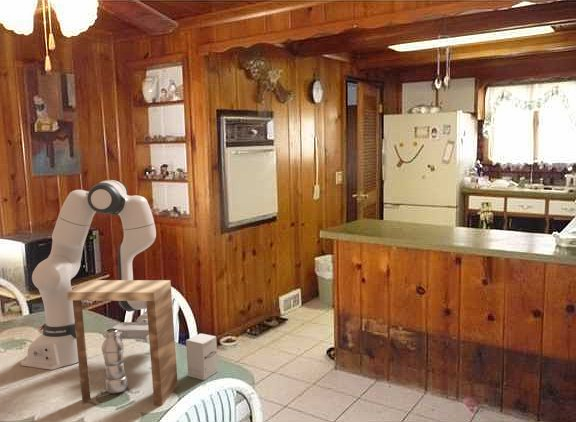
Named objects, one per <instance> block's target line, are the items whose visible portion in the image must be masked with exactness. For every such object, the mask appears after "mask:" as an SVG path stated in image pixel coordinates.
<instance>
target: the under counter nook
mask: <svg viewBox="0 0 576 422" xmlns="http://www.w3.org/2000/svg"><path fill="white" fill-rule="evenodd" d="M67 297H68V300H73V310H74V320H75V331H76V341H77V351H78V362H77V363H78V369H79V381H80V392H81V393H80V394H81V401H82V402H83V403H85V402H89V401H90V400H91V399H92V398H91V397H92V396H91V390H90V389H91V388H90V378H89V376H90V375H89V368H88V359H87V358H88V354H87V355H86V352H87V348H86V347H87V345H86V336H85V326H84V325H85V324H84V314H83V305H82V301H100V302H101V301H102V302H103V301H106V302H107V301H109V302H110V301H113V302H114V301H115V302H116V301H117V302H119V301H146V303H147V309H146V310H147V316H148V329H149V342H148V343H149V353H150V365H151V367H150V368H151V379H152V390H153V391H152V392H153V405H154V406H163V405H164V404H165V402H166V401H167V400H168V398H170V396H171V394H172V393H173V392H174V391H175V389H176V388H177V386H178V385H179V383H178V381H179V380H178V371H177V370H178V368H177V355H176V340H175V326H174V314H173V309H172V305H173V298H172V297H173V296H172V284H171V279H166V280H165V279H161V280H160V279H157V280H156V279H155V280H154V279H153V280H152V279H151V280H150V279H145V280H143V279H142V280H141V279H140V280H139V279H137V280H135V279H133V280H119V279H116V280H115V279H105V280H103V279H97V280H96V279H93V280H91V279H90V280H88V281H86V282H84V283H82V284H80V285H78V286H76V287H74V288H72V290H70V291H68V292H67Z"/></svg>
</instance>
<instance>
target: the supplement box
mask: <svg viewBox="0 0 576 422" xmlns="http://www.w3.org/2000/svg"><path fill="white" fill-rule="evenodd" d="M185 346H186V347H185V348H186V365H187V376H188V377H191V378H195V379H199V380H202V381H205V380H206V379H208V378H209V377H212V376H213V375H214V374H216V373H218V372H219V365H218V348H217V346H218V345H217V336H216V335H212V334H206V333H198V334H197V335H194V336H192V337H190V338H188V339H186V340H185Z"/></svg>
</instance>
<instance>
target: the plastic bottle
mask: <svg viewBox="0 0 576 422" xmlns="http://www.w3.org/2000/svg"><path fill="white" fill-rule="evenodd" d="M117 336H118V330H117V329H116V328H112V327H111V328H107V329H105V331H104V337H105V339H104V341H103V343H102V345H101V352H102V355H103V359H104V364H105V366H104V367H105V382H104V383H105V385H104V386H105V389H106V391H107V392H108V393H109V394H119V393H123V392H124V391H126V389H127V388H128V379H127V375H126V371H125V365H124V343H123V340H122V341H121V340H120V339H119V338H118V337H117Z"/></svg>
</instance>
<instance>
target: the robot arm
mask: <svg viewBox="0 0 576 422" xmlns="http://www.w3.org/2000/svg"><path fill="white" fill-rule="evenodd" d="M96 213H98V214H104V215H113V216H116V215H117V216H118V217H120V221H121V224H122V229H123V239H122V241H121V243H119V245H118V250H117V267H118V269H117V270H118V280H134V273H133V261H134V258H135V257H136V256H137V255H138V254H140V253H142V252H144V251H145V250H147V249H148V248H149V247H151V246H152V245H153V244H154V243H155V240H156V238H157V229H156V224H155V219H154V215H153V212H152V209H151V207H150V204H149V202H148V199H146V198H145V197H144V196H141V195H135V194H134V195H129V190H128V188H127V186H126V185H125V183H124V182H122V181H120V180H118V179H113V178H111V179H106V180H102V181H100V182H98V183H96V184H94V185H93V186H92V187H91V188H90V189H89V191H88V190H84V189H75V190H72V191H70V192H69V193H68V195H67V197H66V199H65V200H64V201H63V204H62V206H61V208H60V211H59V213H58V216H57V218H56V222H55V225H54V229H53V231H52V234H51V239H52V243H51V250H50V254H49V255H48V257H47V258H45V259H44V260H42V261H40V262H39V263H38V264H37V265H36V267H35V268H34V270H33V271H32V275H31V281H32V283H33V285H34V286H35V288H37V289H38V291H39V293H40V296H41V299H42V300H41V301H42V302H43V307H44V308H43V309H44V316H45V323H44V324H43V325H41V326H40V327H39V331H42V333H41V334H40V335H39V336H38V337H36V339H34V341H32V342H31V343H30V344H29V346H28V347H27V355H26V356H25V357H24V358H22V360H21V361H20V365H21V366H23V367H28V368H37V369H44V370H56V369H60V368H61V367H62V368H63V367H66V366H71V365H73V364H76V363H79V362H78V351H77V341H76V331H75V320H74V310H73V300H68V297H67V292H68V291H70V290H72V289H73V287H72V284H71V280H72V279H73V278H75V277H76V276H77V274H78V273H79V270H80V269H81V268H80V267H81V265H82V263H81V261H82V258H83V250H84V246H85V243H86V239H87V236H88V233H89V230H90V227H91V225H92V222H93V218H94V216H95V214H96ZM118 304H119V306H120V307H121V308H122V309H123V310H125V311H126V312H134V311H139V310H145V309H146V311H144V313H142V314H141V315H139V316H138V318H136V321H133V322H131V321H130V322H129V321H124V322H120V323H117V324H116V325H114V326H113V327H111V328H116V329H117V330H118V336H117V337H118V338H119V339H120V340H121V341H122V342H123V340H142V341H143V343H150V342H149V329H148V316H147V303H146V301H118ZM172 309H173V315H174V313H175V308H174V305H173V304H172ZM86 355H87V356H88V352H87V351H86Z"/></svg>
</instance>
